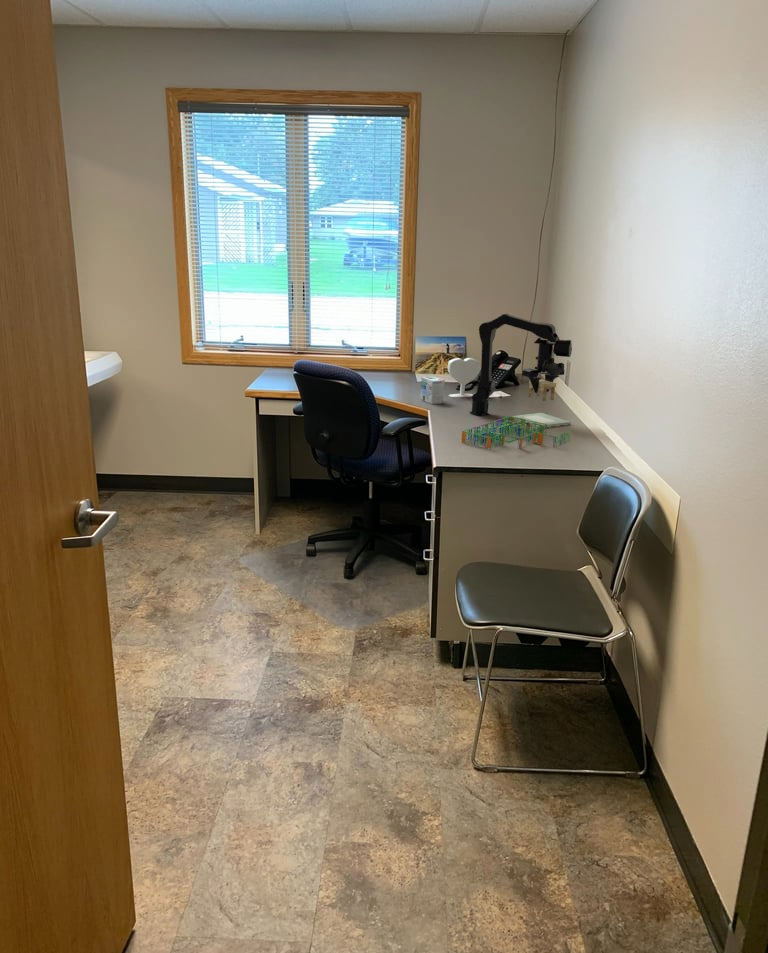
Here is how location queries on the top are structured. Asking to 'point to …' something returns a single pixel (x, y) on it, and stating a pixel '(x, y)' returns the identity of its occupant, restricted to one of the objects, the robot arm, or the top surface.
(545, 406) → the top surface
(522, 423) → the house model
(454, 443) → the top surface
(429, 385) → the light bulb box
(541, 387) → the maple stool
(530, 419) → the sage board
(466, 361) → the heart sculpture
